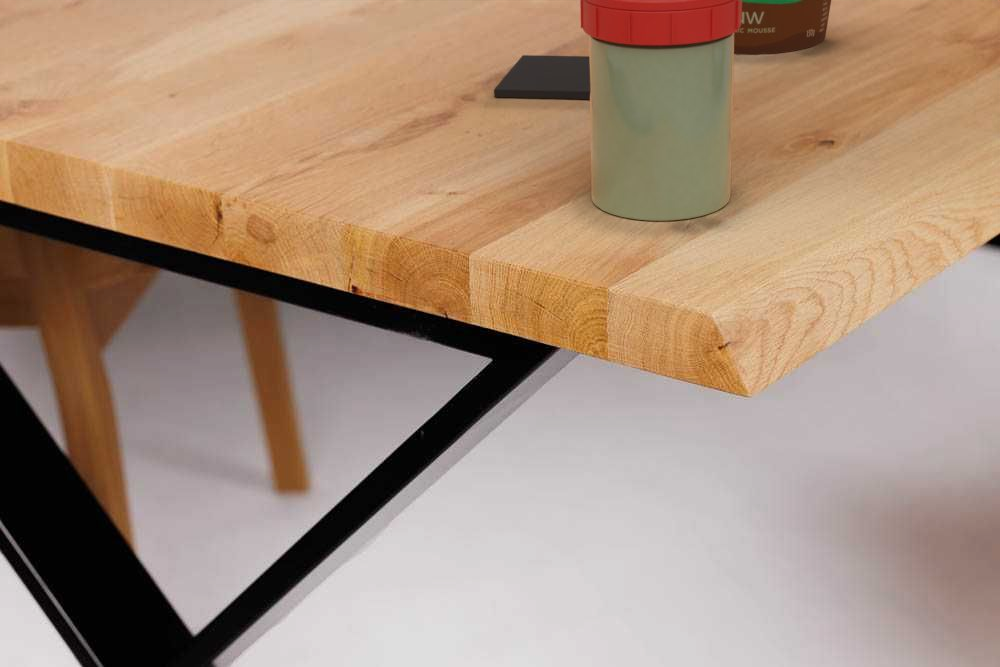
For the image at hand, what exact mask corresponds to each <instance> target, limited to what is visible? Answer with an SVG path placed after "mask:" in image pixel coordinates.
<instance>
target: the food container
mask: <svg viewBox="0 0 1000 667" xmlns="http://www.w3.org/2000/svg"><path fill="white" fill-rule="evenodd" d="M831 4H832V0H742V20H741V26H740V28H739V30H737V31H736V32H735V34H734V54H742V55H761V54H762V55H763V54H765V55H766V54H779V53H786V52H795V51H799V50H803V49H807V48H810V47H813V46H816V45H818V44H820V43H822V42H823V41H824V40H825V38H826V35H827V29H828V23H829V17H830V12H831Z"/></svg>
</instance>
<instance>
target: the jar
mask: <svg viewBox="0 0 1000 667" xmlns="http://www.w3.org/2000/svg"><path fill="white" fill-rule="evenodd" d="M734 34H735V33H733V34H731V35H728V36H726V37H722V38H719V39H715V40H711V41H705V42H699V43H692V44H682V45H662V46H649V45H629V44H621V43H614V42H609V41H604V40H600V39H597V38H594V37H592V36H590V35H588V56H589V78H590V99H589V129H590V130H589V131H590V132H589V133H590V135H589V136H590V139H589V140H590V193H591V194H590V195H591V196H590V197H591V202H592V203H593V204H594V206H596V207H597V208H598V209H599V210H601V211H604V212H605V213H608V214H611V215H614V216H617V217H621V218H625V219H632V220H638V221H649V222H651V221H652V222H653V221H654V222H668V221H679V220H680V221H682V220H689V219H694V218H699V217H703V216H706V215H710V214H712V213H715V212H718V211H719V210H721V209H722V208H724V207H725V206H726V205H727V204H728V203H729V201H730V199H731V181H732V180H731V178H732V177H731V175H732V144H733V141H732V139H733V138H732V137H733V104H734V100H733V99H734V68H735V67H734V65H735V64H734V63H735V53H734Z"/></svg>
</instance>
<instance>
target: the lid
mask: <svg viewBox="0 0 1000 667" xmlns="http://www.w3.org/2000/svg"><path fill="white" fill-rule="evenodd" d="M579 1H580V2H579V6H580V8H579V9H580V29H582V30H583V32H584V33H585V34H586V35H588V36H589V35H590V36H592V37H594V38H597V39H600V40H604V41H609V42H614V43H621V44H629V45H649V46H662V45H682V44H692V43H699V42H705V41H711V40H715V39H719V38H722V37H726V36H728V35H731V34H733V33H735V32H736V31H737V30H739V28H740V26H741V20H742V0H579Z"/></svg>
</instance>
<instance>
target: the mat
mask: <svg viewBox="0 0 1000 667" xmlns="http://www.w3.org/2000/svg"><path fill="white" fill-rule="evenodd" d="M493 97H494V98H509V99H510V98H511V99H512V98H514V99H515V98H516V99H520V98H521V99H551V100H552V99H555V100H556V99H557V100H590V78H589V55H588V56H587V55H586V56H585V55H536V54H535V55H533V54H532V55H531V54H529V55H528V54H522V56H521V57H520V58H518V60H517V62H516V63H515V64H514V65H513V66H512V68H511V69H510V70H509V71H508V72H507V74H505V76H504V77H503V78H502V80H500V81H499V83H498V84H497V85H496V86H495V87H494V89H493Z"/></svg>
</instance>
